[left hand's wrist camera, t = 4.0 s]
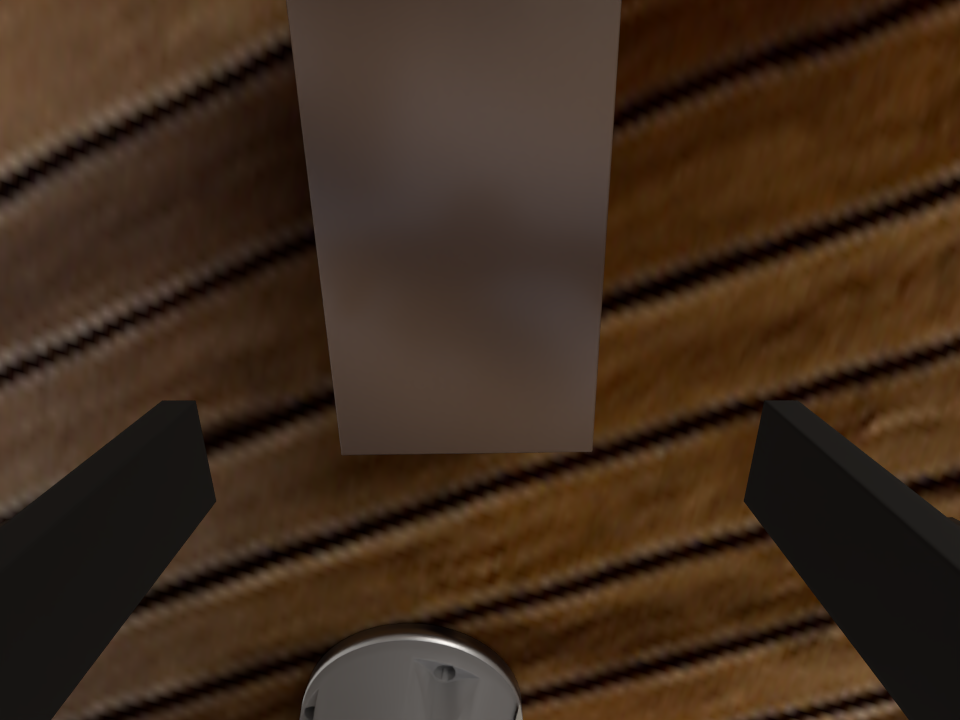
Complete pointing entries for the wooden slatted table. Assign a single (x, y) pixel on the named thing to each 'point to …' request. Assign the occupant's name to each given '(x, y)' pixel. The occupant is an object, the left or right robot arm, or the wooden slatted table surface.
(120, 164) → the wooden slatted table surface
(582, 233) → the cabinet
